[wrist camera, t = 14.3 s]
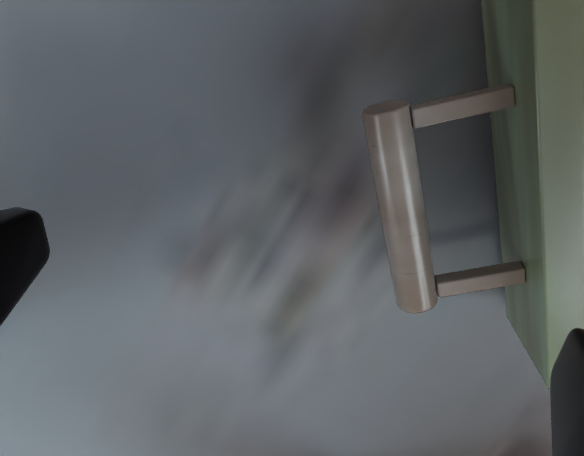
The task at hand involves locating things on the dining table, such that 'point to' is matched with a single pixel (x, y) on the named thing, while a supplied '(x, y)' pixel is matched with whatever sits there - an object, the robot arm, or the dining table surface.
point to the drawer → (503, 175)
